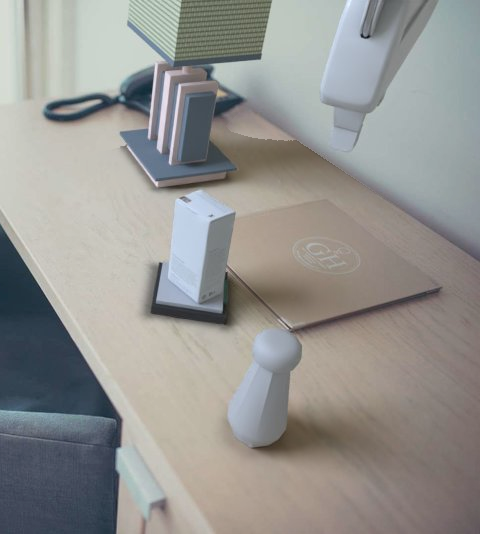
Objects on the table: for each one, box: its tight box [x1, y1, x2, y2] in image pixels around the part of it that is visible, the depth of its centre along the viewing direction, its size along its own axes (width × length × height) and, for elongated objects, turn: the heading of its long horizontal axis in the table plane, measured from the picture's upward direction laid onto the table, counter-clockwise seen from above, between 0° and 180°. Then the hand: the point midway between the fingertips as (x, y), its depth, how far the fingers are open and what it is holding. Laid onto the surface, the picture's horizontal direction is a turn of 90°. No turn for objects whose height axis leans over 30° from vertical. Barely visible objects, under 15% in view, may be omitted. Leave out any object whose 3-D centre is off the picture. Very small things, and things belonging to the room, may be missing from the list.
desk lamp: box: [119, 0, 273, 189], centre depth 99 cm, size 18×14×33 cm
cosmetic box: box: [168, 189, 237, 304], centre depth 77 cm, size 6×4×12 cm
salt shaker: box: [227, 327, 303, 449], centre depth 61 cm, size 6×6×13 cm
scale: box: [150, 261, 229, 325], centre depth 81 cm, size 9×9×2 cm
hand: (356, 123), depth 51 cm, fingers open, 8 cm apart
